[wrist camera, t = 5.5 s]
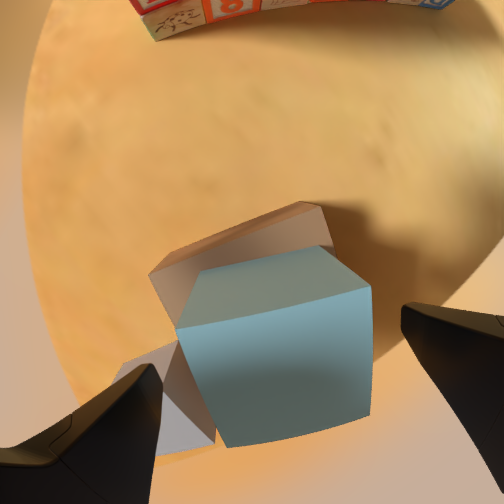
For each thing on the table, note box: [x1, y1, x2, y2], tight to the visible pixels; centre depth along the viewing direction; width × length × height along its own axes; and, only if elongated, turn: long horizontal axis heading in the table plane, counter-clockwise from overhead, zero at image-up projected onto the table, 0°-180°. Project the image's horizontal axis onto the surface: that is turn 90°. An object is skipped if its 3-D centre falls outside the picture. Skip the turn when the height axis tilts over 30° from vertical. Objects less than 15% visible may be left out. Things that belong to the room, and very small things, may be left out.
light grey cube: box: [111, 340, 216, 456], centre depth 13 cm, size 4×4×4 cm
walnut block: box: [148, 201, 338, 328], centre depth 13 cm, size 7×7×4 cm
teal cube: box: [175, 245, 373, 448], centre depth 9 cm, size 4×4×4 cm
